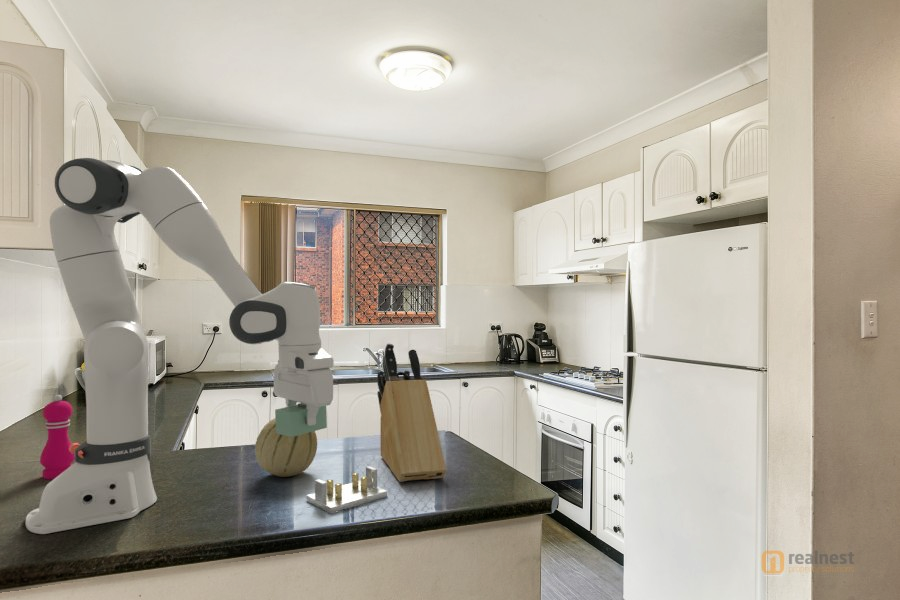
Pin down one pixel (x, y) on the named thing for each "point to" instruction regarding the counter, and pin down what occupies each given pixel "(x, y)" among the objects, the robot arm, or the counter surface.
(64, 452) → the pepper mill
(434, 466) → the knife block
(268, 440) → the cantaloupe
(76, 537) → the counter surface
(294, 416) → the green box
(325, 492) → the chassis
